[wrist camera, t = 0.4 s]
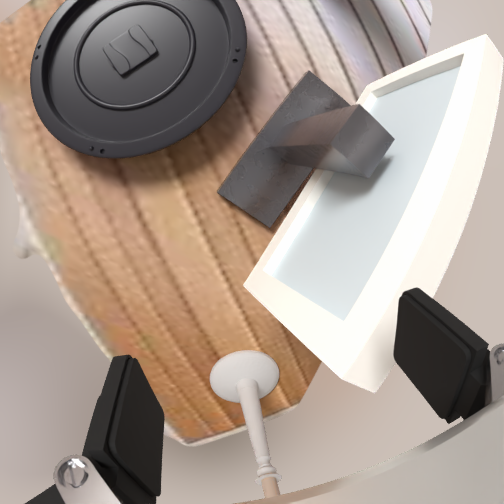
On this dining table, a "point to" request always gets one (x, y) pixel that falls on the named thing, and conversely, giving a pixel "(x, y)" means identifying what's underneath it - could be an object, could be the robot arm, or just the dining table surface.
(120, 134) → the round tray
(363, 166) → the frame stand
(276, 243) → the picture frame
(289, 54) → the dining table surface
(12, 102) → the dining table surface
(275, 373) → the candlestick
